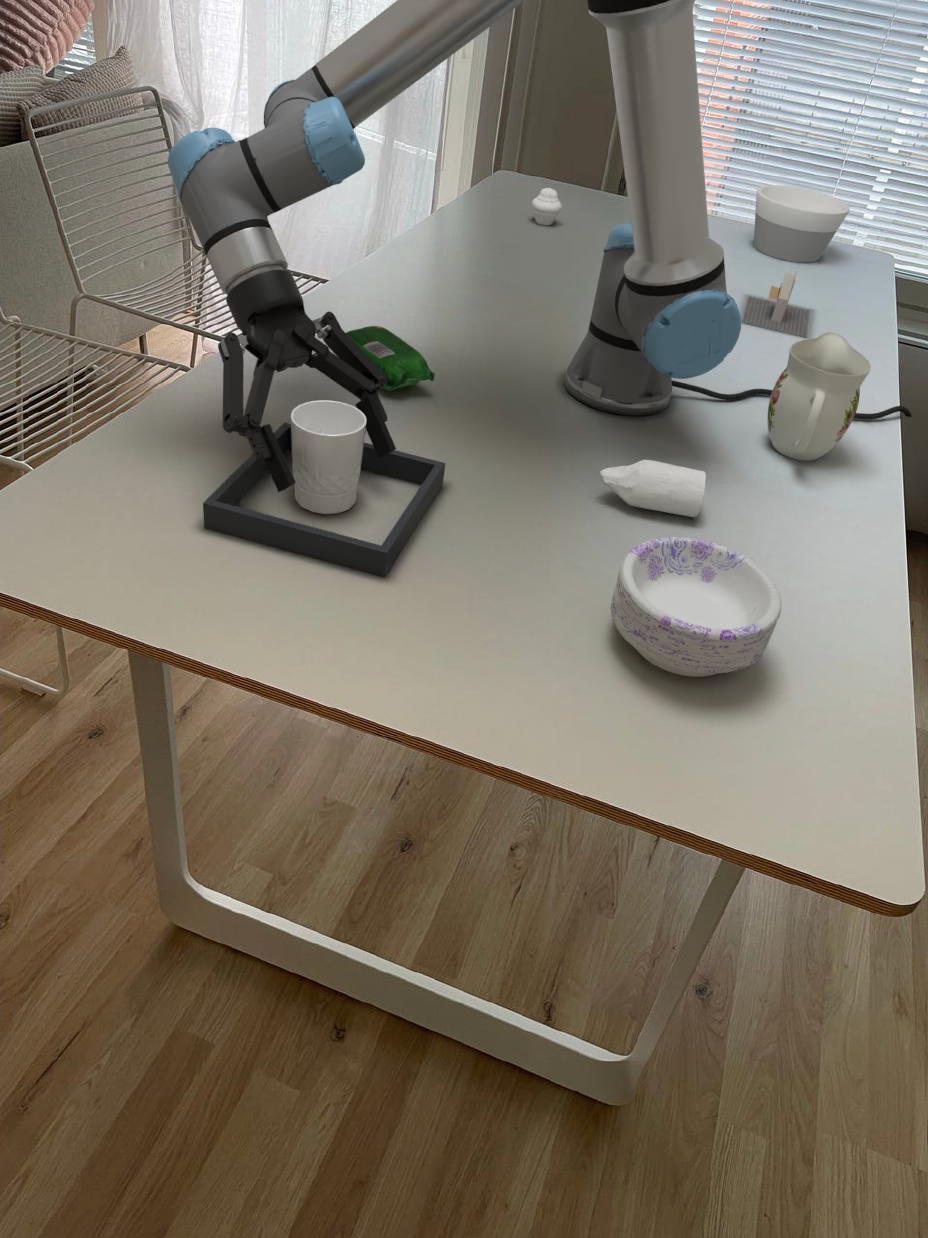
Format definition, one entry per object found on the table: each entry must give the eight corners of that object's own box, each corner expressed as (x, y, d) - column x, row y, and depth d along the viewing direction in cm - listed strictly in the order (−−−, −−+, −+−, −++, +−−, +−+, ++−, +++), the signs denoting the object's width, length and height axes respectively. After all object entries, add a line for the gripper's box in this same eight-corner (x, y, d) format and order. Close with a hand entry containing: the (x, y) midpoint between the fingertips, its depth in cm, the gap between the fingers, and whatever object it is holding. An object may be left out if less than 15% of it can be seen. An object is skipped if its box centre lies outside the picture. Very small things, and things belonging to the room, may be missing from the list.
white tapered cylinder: (594, 483, 118) (604, 442, 114) (692, 501, 118) (705, 460, 114) (593, 509, 113) (603, 467, 110) (694, 527, 113) (708, 485, 109)
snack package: (391, 405, 127) (394, 368, 124) (331, 357, 137) (333, 321, 133) (435, 397, 131) (439, 361, 128) (374, 350, 140) (377, 315, 137)
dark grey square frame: (442, 485, 113) (445, 462, 111) (385, 577, 98) (387, 552, 96) (284, 444, 116) (284, 421, 114) (203, 527, 100) (202, 502, 99)
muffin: (527, 224, 198) (533, 188, 194) (530, 216, 203) (536, 181, 199) (557, 229, 198) (563, 193, 194) (559, 221, 203) (565, 186, 199)
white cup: (291, 477, 110) (292, 397, 104) (360, 482, 111) (366, 402, 105) (287, 515, 104) (288, 432, 98) (361, 519, 105) (366, 437, 99)
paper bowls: (656, 713, 87) (680, 645, 82) (576, 610, 97) (592, 545, 92) (789, 681, 93) (818, 617, 88) (699, 588, 103) (721, 525, 98)
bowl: (843, 271, 200) (862, 218, 193) (752, 260, 199) (769, 205, 192) (817, 242, 215) (834, 191, 208) (733, 231, 214) (748, 179, 207)
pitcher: (747, 468, 126) (781, 370, 117) (762, 414, 140) (794, 322, 131) (832, 492, 124) (873, 393, 115) (839, 435, 137) (876, 343, 129)
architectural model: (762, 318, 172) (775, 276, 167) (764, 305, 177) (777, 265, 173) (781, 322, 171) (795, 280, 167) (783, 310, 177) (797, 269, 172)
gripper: (334, 281, 113) (407, 451, 114) (138, 319, 98) (225, 513, 99) (366, 250, 107) (443, 429, 108) (162, 285, 92) (255, 492, 93)
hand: (339, 470), depth 104 cm, fingers open, 13 cm apart
